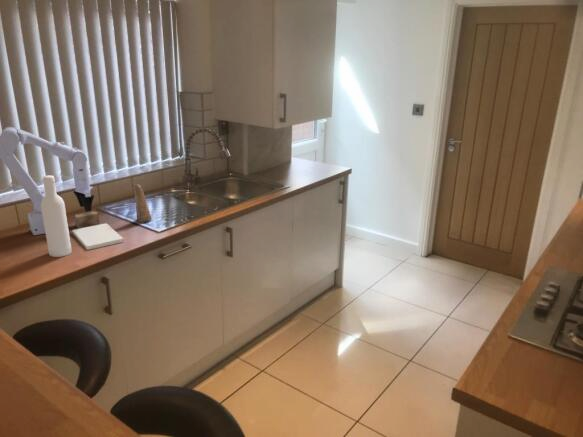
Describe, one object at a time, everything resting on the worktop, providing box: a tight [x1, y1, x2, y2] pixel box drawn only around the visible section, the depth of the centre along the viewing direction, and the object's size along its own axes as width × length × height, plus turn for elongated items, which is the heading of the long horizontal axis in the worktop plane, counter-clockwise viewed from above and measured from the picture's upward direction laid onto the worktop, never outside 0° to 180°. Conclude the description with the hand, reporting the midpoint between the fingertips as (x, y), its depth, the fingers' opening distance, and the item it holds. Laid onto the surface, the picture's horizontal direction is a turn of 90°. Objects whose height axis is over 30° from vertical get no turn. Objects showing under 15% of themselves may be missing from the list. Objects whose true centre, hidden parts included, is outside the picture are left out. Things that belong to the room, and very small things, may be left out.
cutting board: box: [71, 223, 125, 251], centre depth 193 cm, size 14×21×2 cm, turn 38°
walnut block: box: [73, 210, 101, 229], centre depth 206 cm, size 9×4×5 cm, turn 128°
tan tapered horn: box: [133, 183, 152, 223], centre depth 210 cm, size 6×18×6 cm
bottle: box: [41, 175, 73, 258], centre depth 174 cm, size 8×8×30 cm
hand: (85, 208), depth 205 cm, fingers open, 7 cm apart
